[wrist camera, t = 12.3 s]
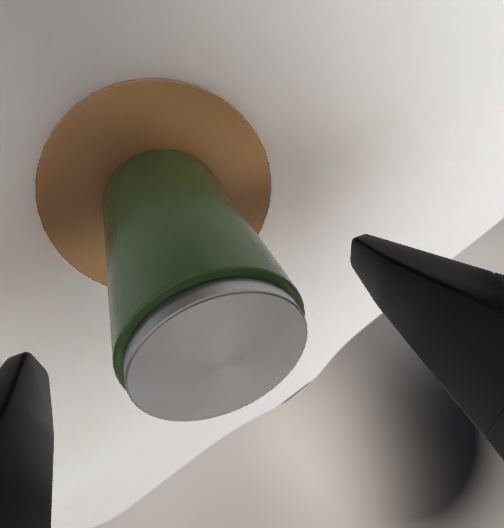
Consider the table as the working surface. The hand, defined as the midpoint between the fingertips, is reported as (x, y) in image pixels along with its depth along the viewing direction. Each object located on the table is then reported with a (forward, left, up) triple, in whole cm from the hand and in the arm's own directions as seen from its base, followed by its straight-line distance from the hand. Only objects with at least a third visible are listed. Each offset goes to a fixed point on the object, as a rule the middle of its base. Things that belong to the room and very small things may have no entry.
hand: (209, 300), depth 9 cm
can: (0, 0, -6) cm, 6 cm away
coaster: (0, 0, -6) cm, 6 cm away
